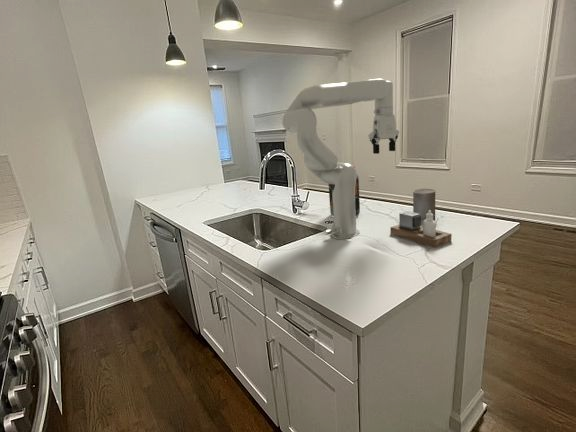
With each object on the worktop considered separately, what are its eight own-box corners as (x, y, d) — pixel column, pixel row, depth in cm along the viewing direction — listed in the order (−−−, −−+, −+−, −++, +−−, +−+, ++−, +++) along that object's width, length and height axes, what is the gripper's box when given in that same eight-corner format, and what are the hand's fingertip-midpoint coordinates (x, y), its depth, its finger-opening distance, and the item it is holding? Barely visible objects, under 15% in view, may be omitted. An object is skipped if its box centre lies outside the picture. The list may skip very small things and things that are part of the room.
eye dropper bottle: (435, 238, 123) (436, 208, 120) (435, 243, 118) (436, 212, 115) (422, 237, 125) (423, 208, 122) (422, 242, 120) (423, 212, 117)
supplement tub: (338, 210, 181) (336, 164, 174) (364, 212, 172) (363, 164, 165) (325, 217, 169) (321, 169, 162) (352, 220, 159) (350, 169, 153)
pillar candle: (430, 215, 156) (430, 185, 152) (438, 220, 146) (439, 188, 142) (410, 217, 156) (409, 187, 152) (417, 222, 147) (417, 191, 143)
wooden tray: (434, 250, 115) (434, 240, 114) (390, 236, 133) (390, 227, 132) (451, 243, 119) (451, 233, 118) (406, 231, 137) (406, 222, 136)
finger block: (413, 238, 125) (414, 216, 123) (399, 234, 132) (399, 213, 129) (421, 235, 127) (422, 214, 125) (407, 231, 134) (407, 211, 131)
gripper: (375, 112, 130) (376, 154, 135) (404, 110, 138) (404, 150, 142) (362, 114, 136) (363, 154, 141) (391, 111, 144) (391, 149, 149)
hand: (384, 152), depth 142 cm, fingers open, 9 cm apart
